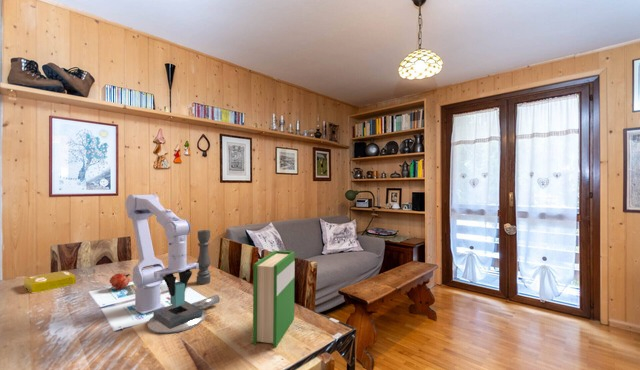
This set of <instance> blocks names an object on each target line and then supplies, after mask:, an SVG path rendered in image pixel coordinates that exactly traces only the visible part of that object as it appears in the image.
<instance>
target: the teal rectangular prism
mask: <svg viewBox="0 0 640 370" xmlns="http://www.w3.org/2000/svg"><path fill="white" fill-rule="evenodd" d="M169 296H170V302H169V303H170V305H173V306H175V307H177V306H180V305H183V304H185V301H186V299H185V297H186V289H185V284H184V283H182V282H180V280H179V281H175V294H174V296H171V295H170V294H169Z"/></svg>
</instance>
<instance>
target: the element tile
mask: <svg viewBox="0 0 640 370" xmlns="http://www.w3.org/2000/svg"><path fill="white" fill-rule="evenodd" d="M76 277H77V276H76V274H74V273H72V272H69V270H68V271H67V270H59V271H55V272H50V273H45V274H40V275H35V276H29V277H25V278H24V279H23V280H24V281H23V283H24V285H23V286H24V287H25V288H27V289H28V290H29V291H28V290H27V289H26V290H27V291H28V292H30V291H31V292H38V293H42V292H41V291H43V292H47V291H50V290H54V289H55V290H56V289H58V288H64V287H68V286H72V285H75V284H76V280H77V279H76ZM25 288H24V289H25ZM46 290H47V291H46ZM31 292H30V293H31Z"/></svg>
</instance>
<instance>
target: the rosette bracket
mask: <svg viewBox="0 0 640 370" xmlns="http://www.w3.org/2000/svg"><path fill="white" fill-rule="evenodd" d="M220 300H221V299H220V296H219V295H218V294H216V295H212V296H209V297H207V298H204V299H201V300H198V301H194V302H193V303H192V302H191V303H190V302H188V301H186V300H185V304H183V305H180V306H177V307H175V306H173V305H172V304H170V305H167V306H165V307H163V308H160V309H157V310H154V311H152V312H153V313H152V315H153V316H152V317H150V318H149V320H148V322H147V329H148V330H149V331H150V332H152V333H154V334H160V335H167V334H168V335H169V334H176V333H180V332H181V333H182V332H185V331H187V330H190V329H193V328H195V327H196V326H199V325H200V324H202V323H203V321H204V320H205V319H206V316H207V315H206V314H207V313H206V310H205V308H207V307H210V306H214V305H216V304H218V303H220Z"/></svg>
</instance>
